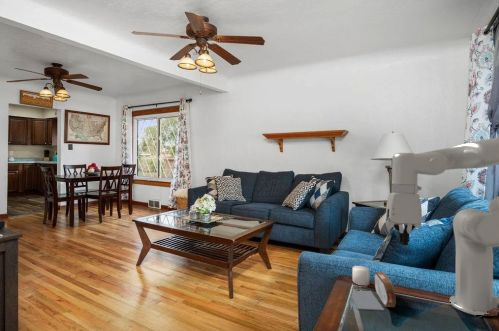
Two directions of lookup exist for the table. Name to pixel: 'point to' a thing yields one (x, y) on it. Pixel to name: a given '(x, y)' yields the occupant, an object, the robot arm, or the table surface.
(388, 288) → the tin
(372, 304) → the mat
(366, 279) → the white rounded dome
